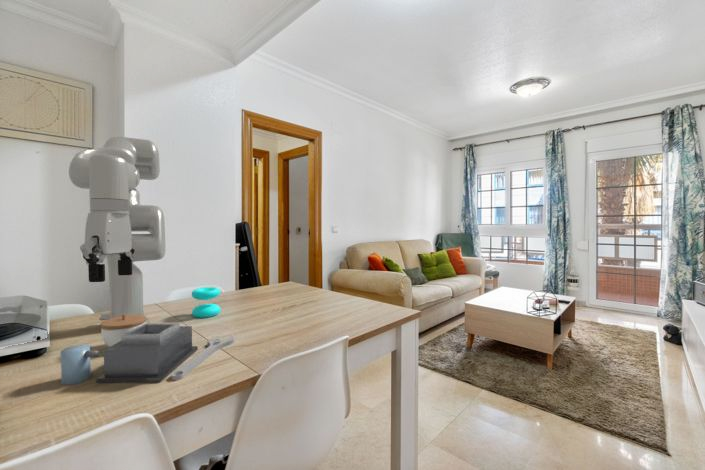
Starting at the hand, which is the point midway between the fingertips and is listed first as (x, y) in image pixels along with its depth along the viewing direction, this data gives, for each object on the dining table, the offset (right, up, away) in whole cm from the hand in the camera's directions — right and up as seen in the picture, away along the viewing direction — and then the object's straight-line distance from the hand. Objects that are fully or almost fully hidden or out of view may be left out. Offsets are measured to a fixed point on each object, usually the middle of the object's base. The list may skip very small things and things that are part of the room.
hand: (112, 278), depth 77 cm
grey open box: (+8, -22, +3) cm, 24 cm away
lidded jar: (-7, -22, +14) cm, 27 cm away
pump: (-4, -22, -5) cm, 23 cm away
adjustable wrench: (+18, -23, +8) cm, 30 cm away
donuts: (+2, -21, +46) cm, 50 cm away
